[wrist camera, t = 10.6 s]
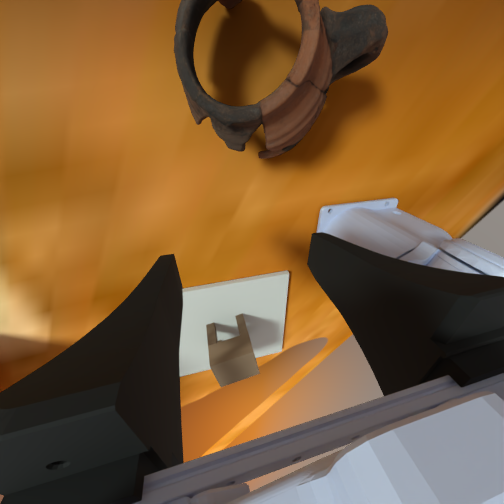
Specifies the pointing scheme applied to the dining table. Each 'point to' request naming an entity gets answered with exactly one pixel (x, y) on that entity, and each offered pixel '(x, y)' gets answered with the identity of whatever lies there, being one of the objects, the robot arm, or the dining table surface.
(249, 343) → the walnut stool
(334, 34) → the pottery mug
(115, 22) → the dining table surface
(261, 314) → the grey mat
